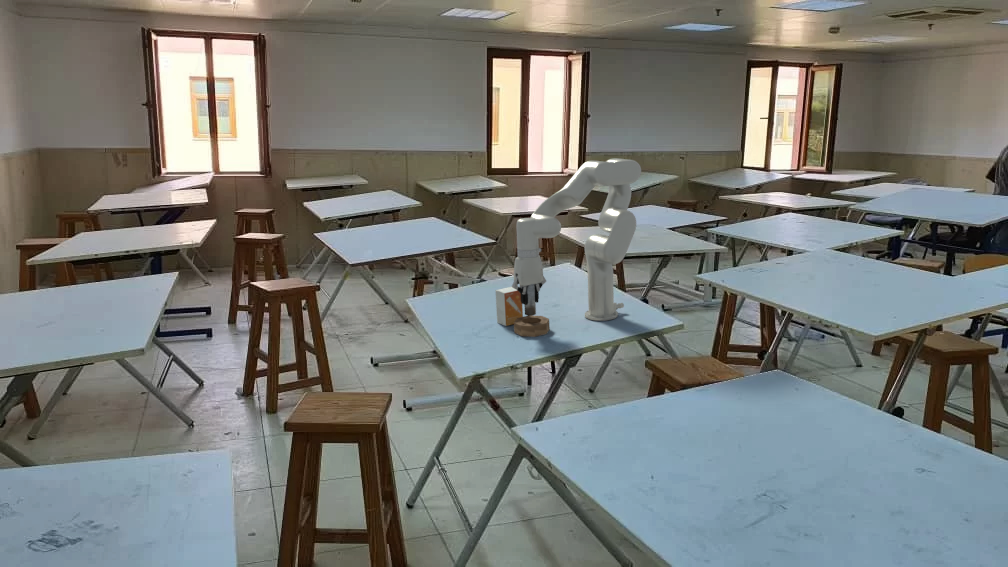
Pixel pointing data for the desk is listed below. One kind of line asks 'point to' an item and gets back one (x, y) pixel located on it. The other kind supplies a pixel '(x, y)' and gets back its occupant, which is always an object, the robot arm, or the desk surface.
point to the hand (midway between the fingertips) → (529, 302)
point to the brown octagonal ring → (531, 326)
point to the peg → (530, 300)
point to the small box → (508, 306)
